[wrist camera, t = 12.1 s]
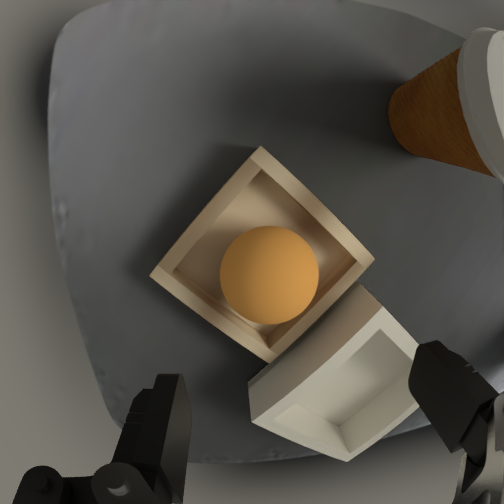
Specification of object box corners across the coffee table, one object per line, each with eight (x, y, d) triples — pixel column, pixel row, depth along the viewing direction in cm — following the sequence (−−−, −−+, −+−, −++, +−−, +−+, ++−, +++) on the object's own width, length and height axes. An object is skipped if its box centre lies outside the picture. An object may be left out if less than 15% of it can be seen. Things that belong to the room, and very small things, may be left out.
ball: (322, 256, 21) (352, 287, 16) (266, 313, 22) (277, 360, 17) (261, 199, 20) (273, 213, 14) (204, 264, 21) (194, 300, 15)
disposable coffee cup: (408, 198, 21) (523, 231, 10) (346, 94, 19) (448, 43, 7) (471, 143, 20) (574, 150, 9) (421, 51, 18) (518, 12, 6)
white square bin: (424, 351, 26) (448, 378, 21) (334, 429, 28) (346, 461, 23) (355, 279, 23) (383, 306, 18) (247, 382, 25) (251, 421, 20)
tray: (361, 249, 22) (375, 259, 20) (265, 346, 24) (269, 363, 22) (257, 148, 20) (260, 145, 17) (157, 264, 21) (149, 275, 19)
